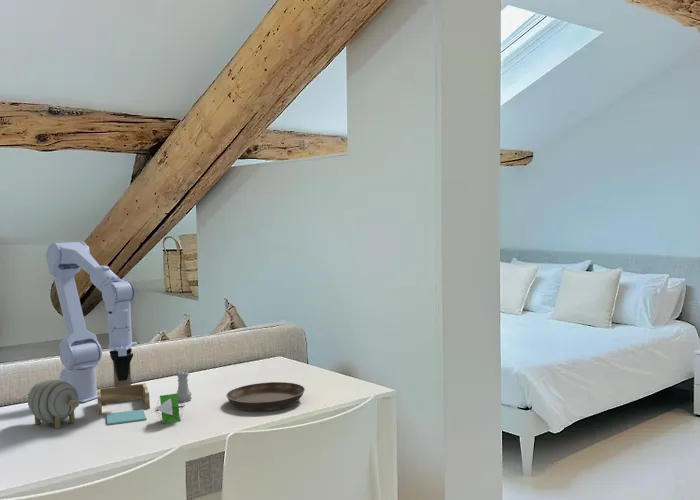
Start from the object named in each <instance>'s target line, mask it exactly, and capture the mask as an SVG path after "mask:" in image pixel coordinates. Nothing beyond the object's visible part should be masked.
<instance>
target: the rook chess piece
mask: <svg viewBox="0 0 700 500" xmlns="http://www.w3.org/2000/svg"><path fill="white" fill-rule="evenodd" d="M189 375H190V374H189V373H188V370H185V369H183V370H181V369H180V370H178V371H177V374H176V376H177V378H178V379H177V382H178V384H177V385H178V386H177V391H176V393H175V394H178V395H179V396H178V395H177V397H179V398H178V403H180V402H181V403H185V402H184V401H187V402H190V401H192V399H193V397H192V391H191V390H190V388H189V383H188V381H189V378H188V377H189ZM180 398H181V399H180ZM179 399H180V400H179ZM189 400H190V401H189Z"/></svg>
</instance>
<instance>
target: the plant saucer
mask: <svg viewBox="0 0 700 500" xmlns="http://www.w3.org/2000/svg"><path fill="white" fill-rule="evenodd" d="M305 390H306V388H305V386H303V385H301V384H298V383H294V382H283V381H282V382H281V381H280V382H279V381H278V382H277V381H276V382H275V381H273V382H272V381H270V382H260V383H253V384H248V385H247V384H246V385H242V386H238V387H236V388H234V389H232V390H230V391H228V392H227V393H226V398H227V399H228V401H229V402H230V403H231V404H232V405H233V406H234V407H235V408H238V409H240V410H242V411H243V410H245V411H249V412H250V411H251V412H267V411H268V412H269V411H275V410H281V409H284V408H285V409H286V408H288V407H290V406H293V405H294V404H296V403H297V402H298V401H299V400H300V399H301V398H302V396H303V394H304V393H305Z"/></svg>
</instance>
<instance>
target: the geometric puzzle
mask: <svg viewBox="0 0 700 500" xmlns="http://www.w3.org/2000/svg"><path fill="white" fill-rule="evenodd" d="M177 395H178V394H176V393H171V394H163V395H159V399H158V401H157V404H156V407H155V410H154V411H155V412H156V416H157V417H158V419H159V420H160V422H161V423H162V424H163V425H164V424H169V423H174V422H175V423H177V422H181V420H182V416H183V413H184V411H185V410H184V409H185V406H186V404H185V403H182V402H178V398H179V397H177ZM178 396H179V395H178ZM180 399H181V398H180ZM180 399H179V400H180ZM159 403H160V405H159ZM179 403H180V404H181V405H179ZM158 405H159V406H158ZM156 408H157V409H156ZM180 410H182V411H181V412H180ZM159 412H160V413H159ZM158 415H159V416H158Z"/></svg>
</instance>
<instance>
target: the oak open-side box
mask: <svg viewBox="0 0 700 500" xmlns="http://www.w3.org/2000/svg"><path fill="white" fill-rule="evenodd" d="M96 399H97V409H98V410H97V412H98V415H101V416H102V415H103V409H102V405H103V404H110V403H111V404H112V403H118V402H119V401H120V402H125V401H126V402H127V400H128V401H136V400H143V402H144V405H145V408H146V409H150V408H151V406H150V405H151V404H150V403H151V402H150V401H151V400H150V392H149V389H148V387H147V384H146V383H138V384H131V386H123V387H115V386H111V387H102V388H100V387H99V388H97V398H96ZM120 402H119V403H120Z"/></svg>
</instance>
